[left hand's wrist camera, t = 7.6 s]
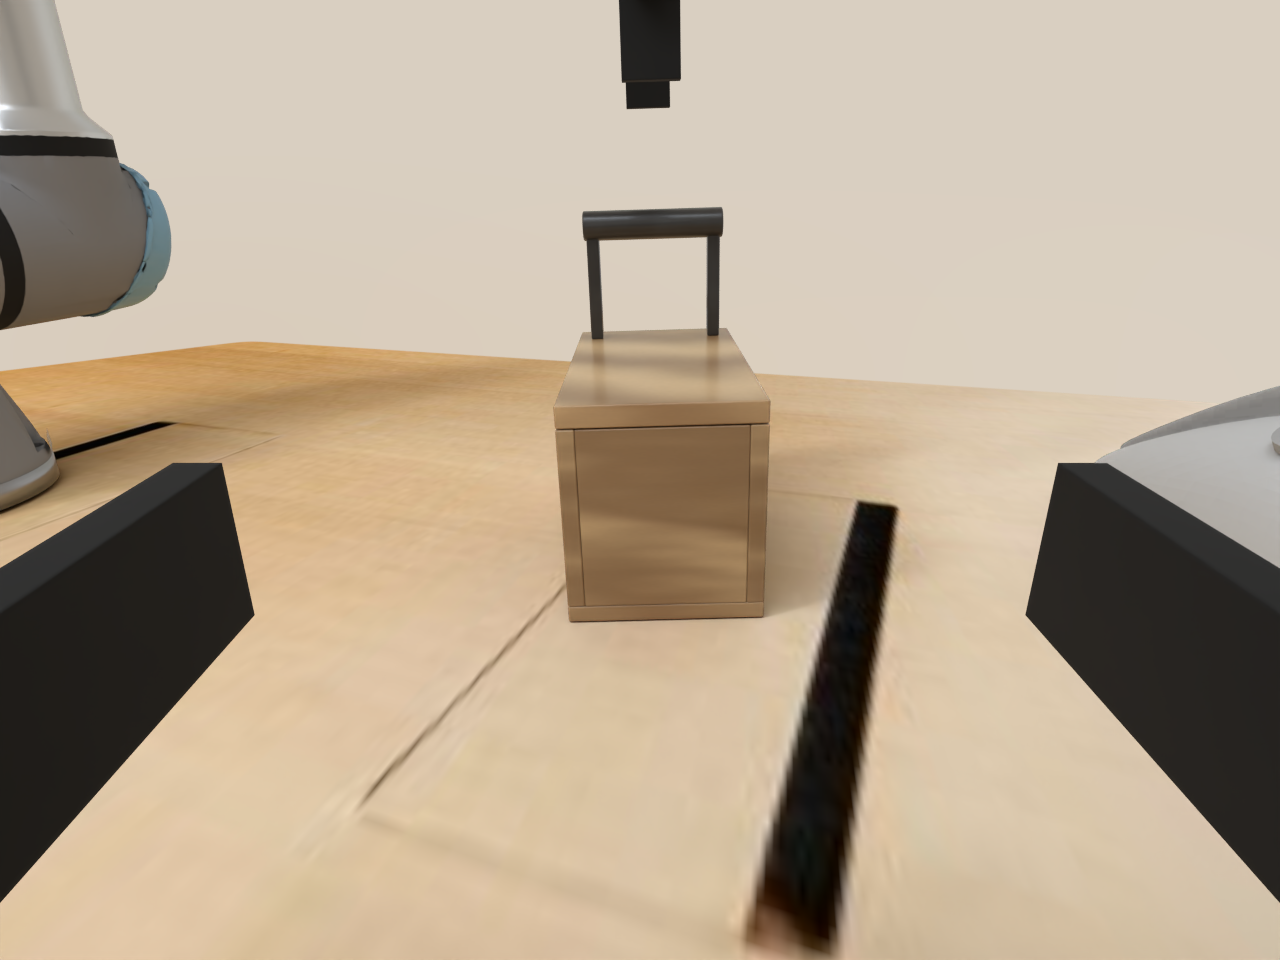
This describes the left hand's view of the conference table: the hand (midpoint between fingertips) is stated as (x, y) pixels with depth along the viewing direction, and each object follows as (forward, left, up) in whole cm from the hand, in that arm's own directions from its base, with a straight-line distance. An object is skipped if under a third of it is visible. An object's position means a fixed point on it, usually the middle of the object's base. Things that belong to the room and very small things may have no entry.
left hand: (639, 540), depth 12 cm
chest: (+24, -16, -14) cm, 32 cm away
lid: (+24, -16, -4) cm, 29 cm away
